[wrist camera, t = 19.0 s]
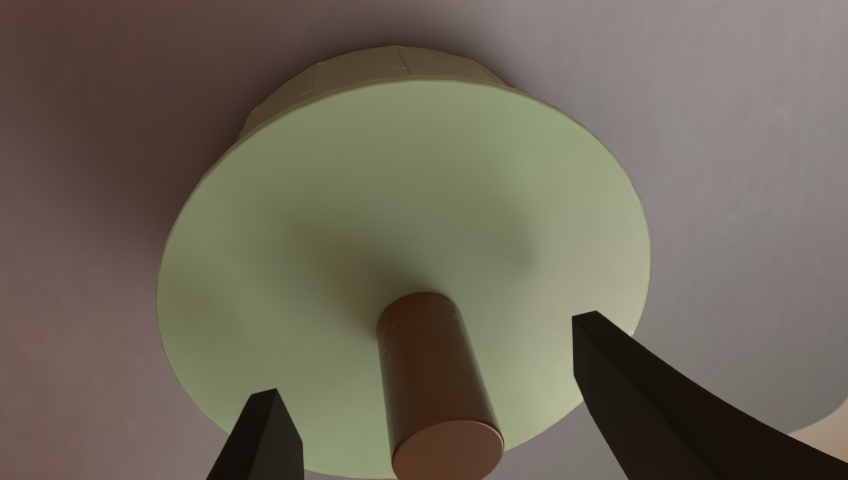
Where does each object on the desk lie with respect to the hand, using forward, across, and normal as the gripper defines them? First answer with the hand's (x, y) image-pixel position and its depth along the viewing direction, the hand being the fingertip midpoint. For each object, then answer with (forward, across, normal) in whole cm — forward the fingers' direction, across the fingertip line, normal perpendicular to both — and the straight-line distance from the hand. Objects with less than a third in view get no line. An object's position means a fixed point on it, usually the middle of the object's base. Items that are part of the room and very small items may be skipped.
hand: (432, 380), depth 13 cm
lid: (+3, 0, 0) cm, 3 cm away
